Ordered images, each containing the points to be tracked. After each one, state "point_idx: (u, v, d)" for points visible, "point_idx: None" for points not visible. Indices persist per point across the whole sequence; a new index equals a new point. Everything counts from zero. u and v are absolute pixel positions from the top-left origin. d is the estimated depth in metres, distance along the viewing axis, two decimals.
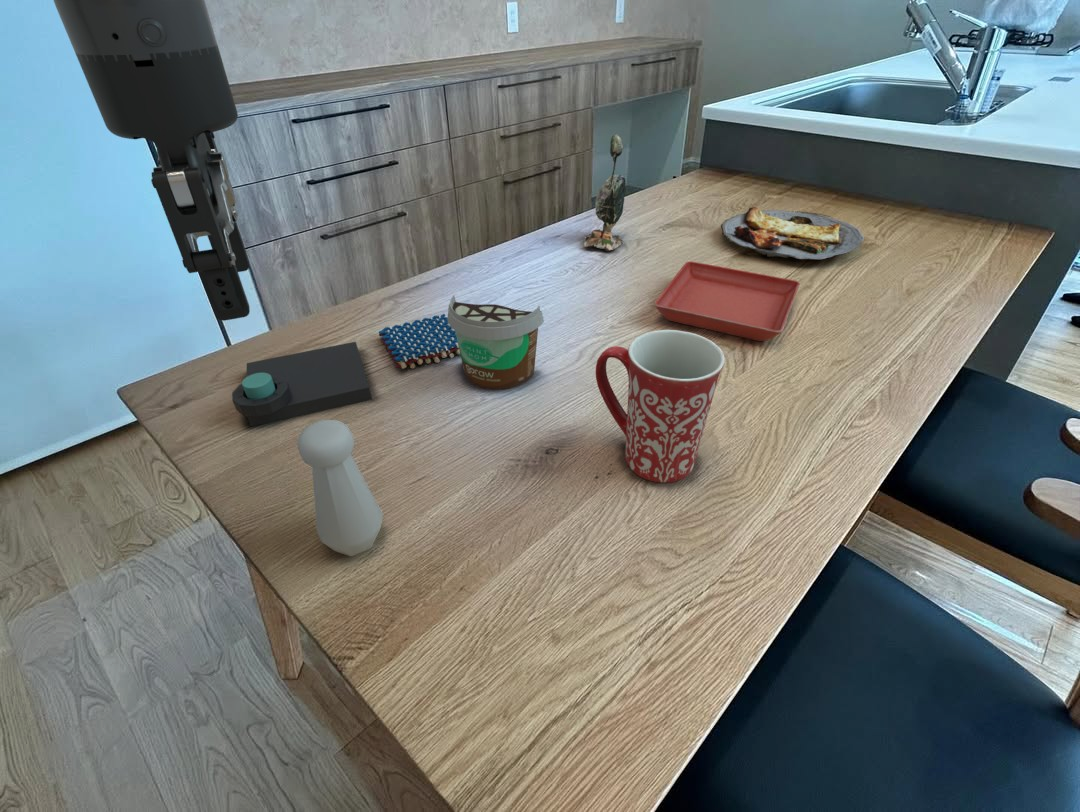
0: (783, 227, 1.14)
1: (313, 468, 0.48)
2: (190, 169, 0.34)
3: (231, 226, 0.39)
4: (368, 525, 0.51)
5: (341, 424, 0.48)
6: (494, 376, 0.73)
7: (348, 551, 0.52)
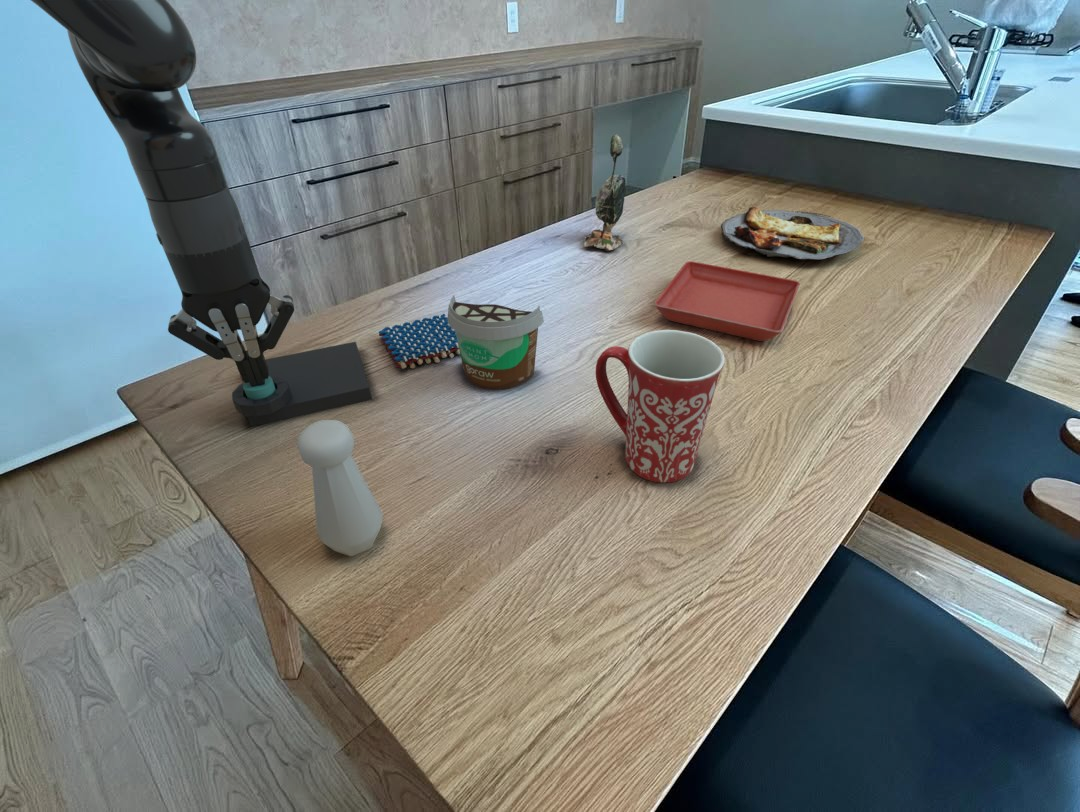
0: (783, 227, 1.14)
1: (313, 468, 0.48)
2: (168, 326, 0.60)
3: (230, 343, 0.63)
4: (368, 525, 0.51)
5: (341, 424, 0.48)
6: (494, 376, 0.73)
7: (348, 551, 0.52)
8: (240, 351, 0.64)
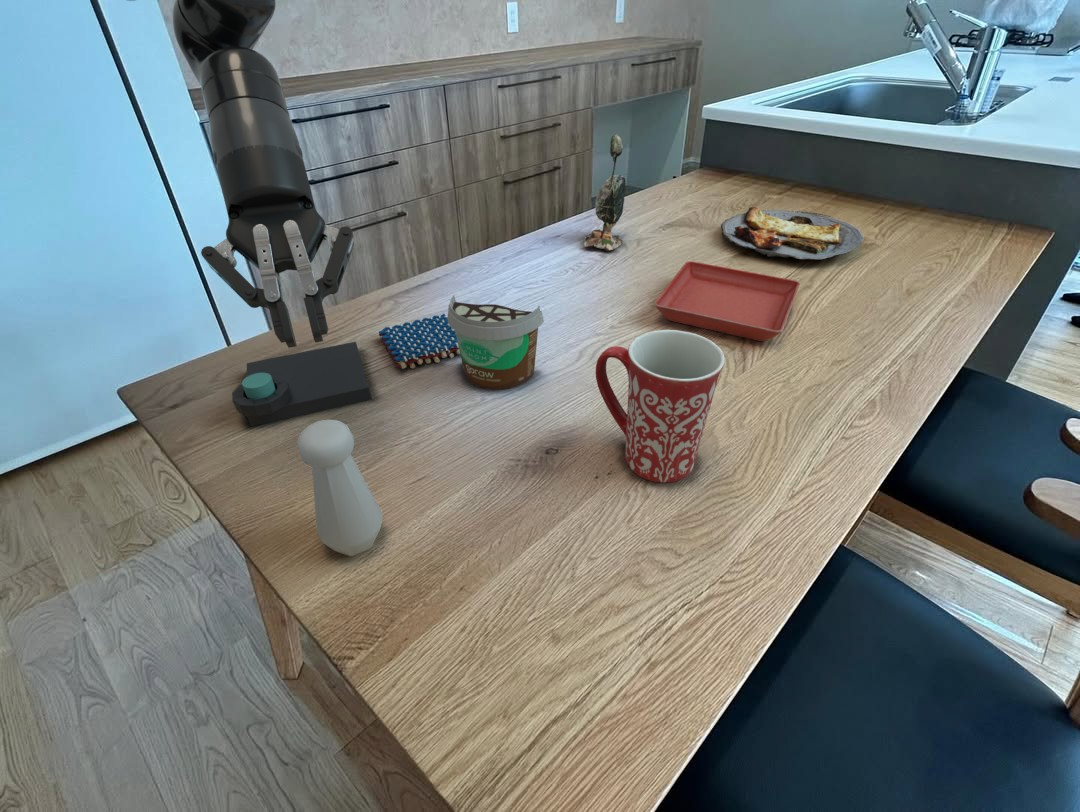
0: (783, 227, 1.14)
1: (313, 468, 0.48)
2: None
3: (268, 272, 0.51)
4: (368, 525, 0.51)
5: (341, 424, 0.48)
6: (494, 376, 0.73)
7: (348, 551, 0.52)
8: (275, 288, 0.52)
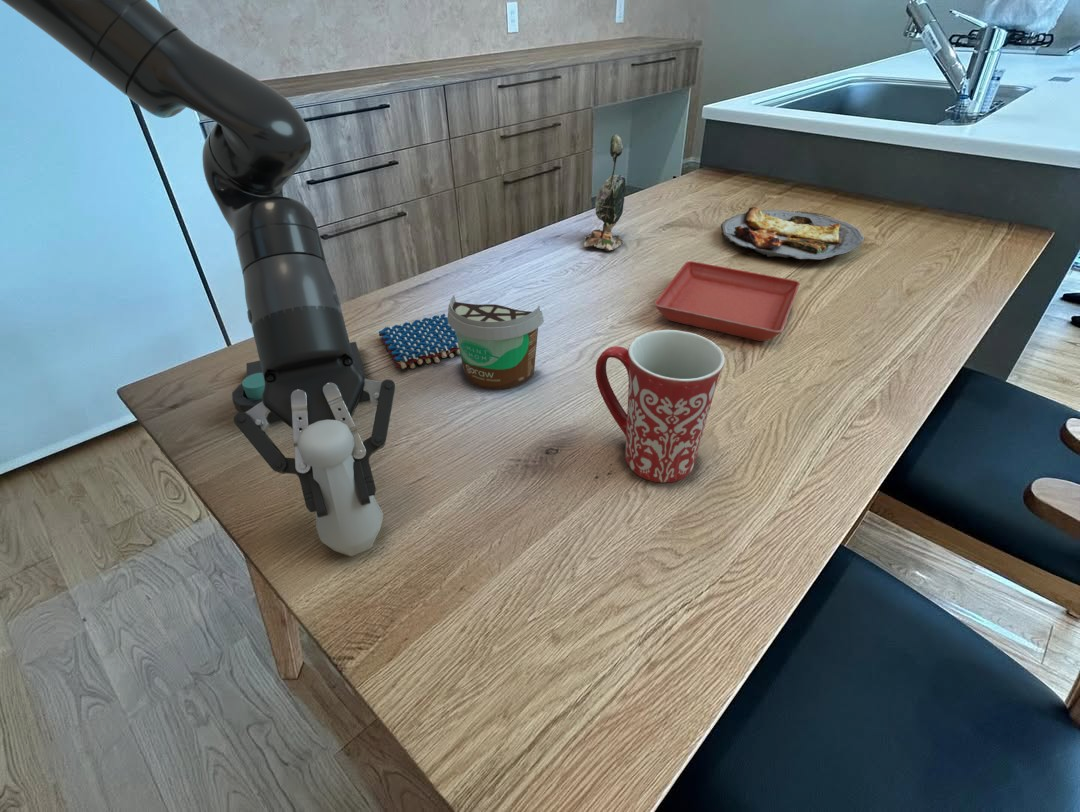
0: (783, 227, 1.14)
1: (313, 468, 0.48)
2: None
3: None
4: (368, 525, 0.51)
5: (341, 424, 0.48)
6: (494, 376, 0.73)
7: (348, 551, 0.52)
8: None
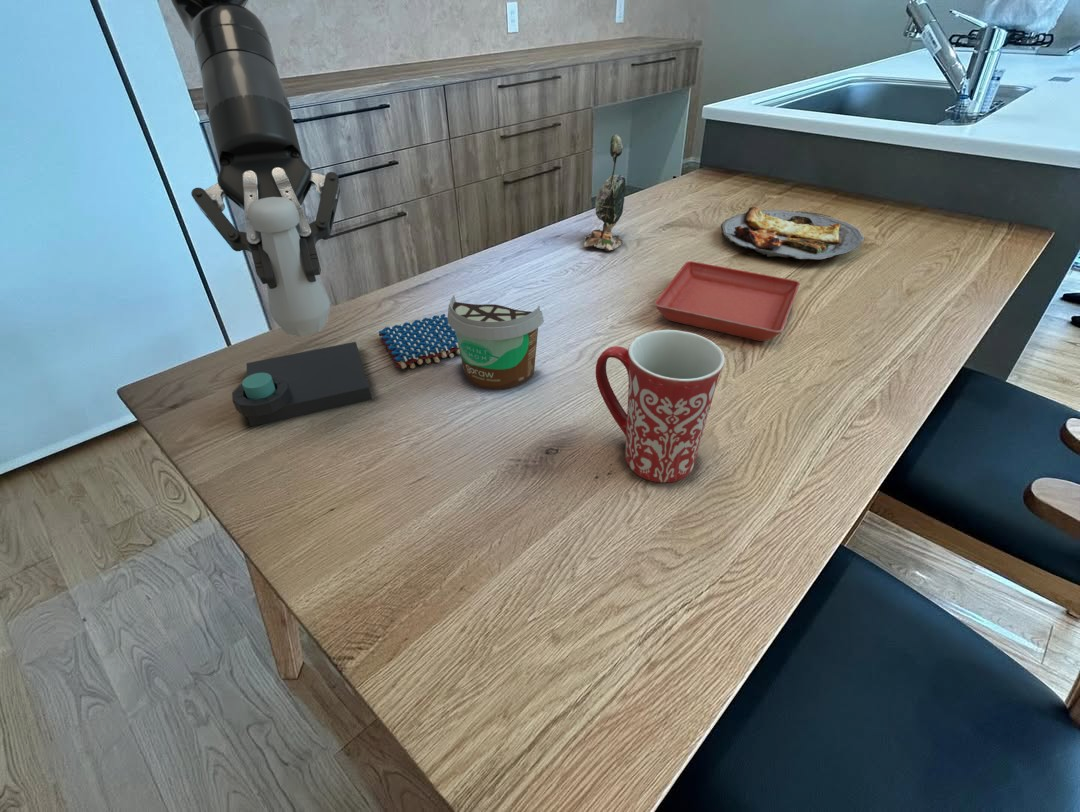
0: (783, 227, 1.14)
1: (262, 238, 0.54)
2: None
3: None
4: (315, 302, 0.58)
5: (287, 199, 0.54)
6: (494, 376, 0.73)
7: (297, 328, 0.58)
8: (257, 231, 0.55)
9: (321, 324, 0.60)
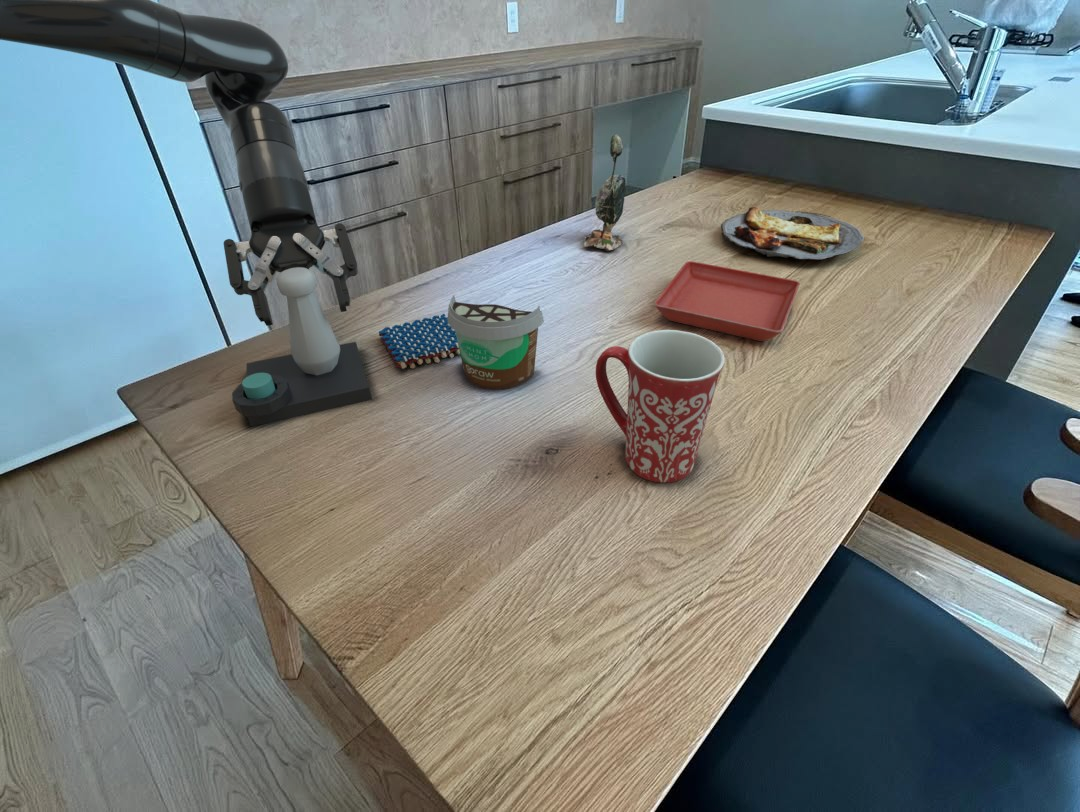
0: (783, 227, 1.14)
1: (288, 300, 0.69)
2: None
3: (261, 269, 0.68)
4: (328, 348, 0.72)
5: (307, 269, 0.69)
6: (494, 376, 0.73)
7: (314, 368, 0.73)
8: (256, 280, 0.68)
9: (333, 365, 0.74)
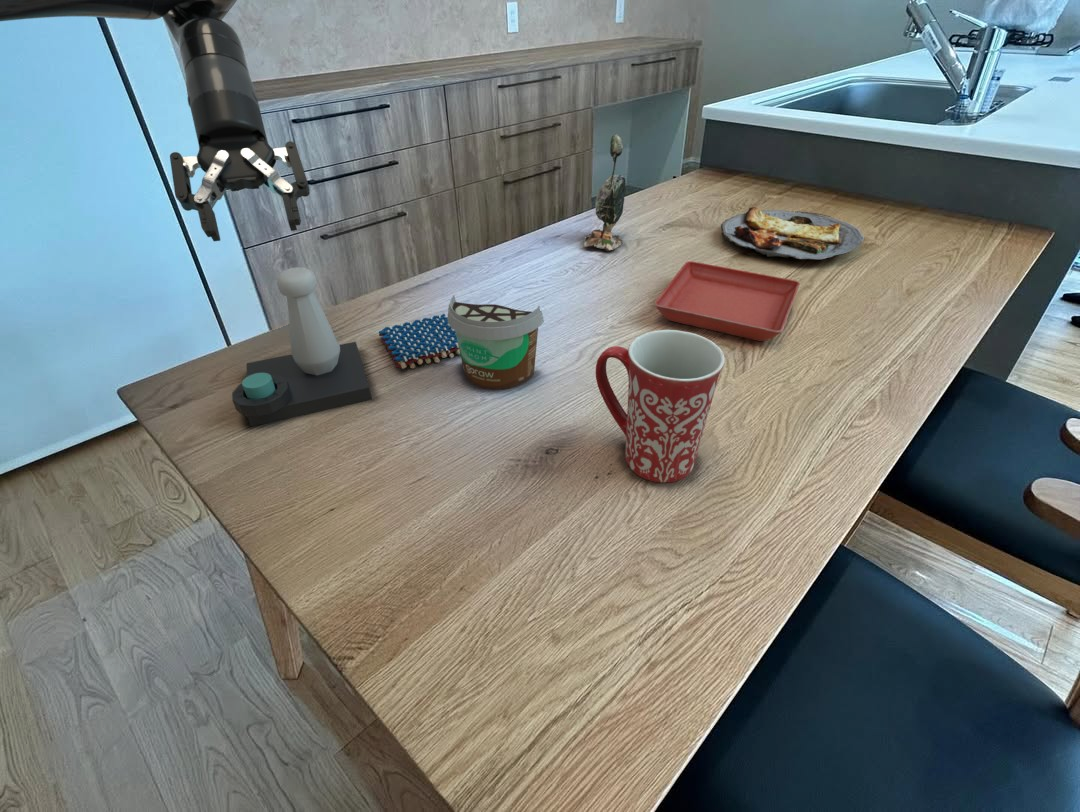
0: (783, 227, 1.14)
1: (288, 300, 0.69)
2: None
3: (207, 182, 0.67)
4: (328, 348, 0.72)
5: (307, 269, 0.69)
6: (494, 376, 0.73)
7: (314, 368, 0.73)
8: (202, 193, 0.67)
9: (333, 365, 0.74)
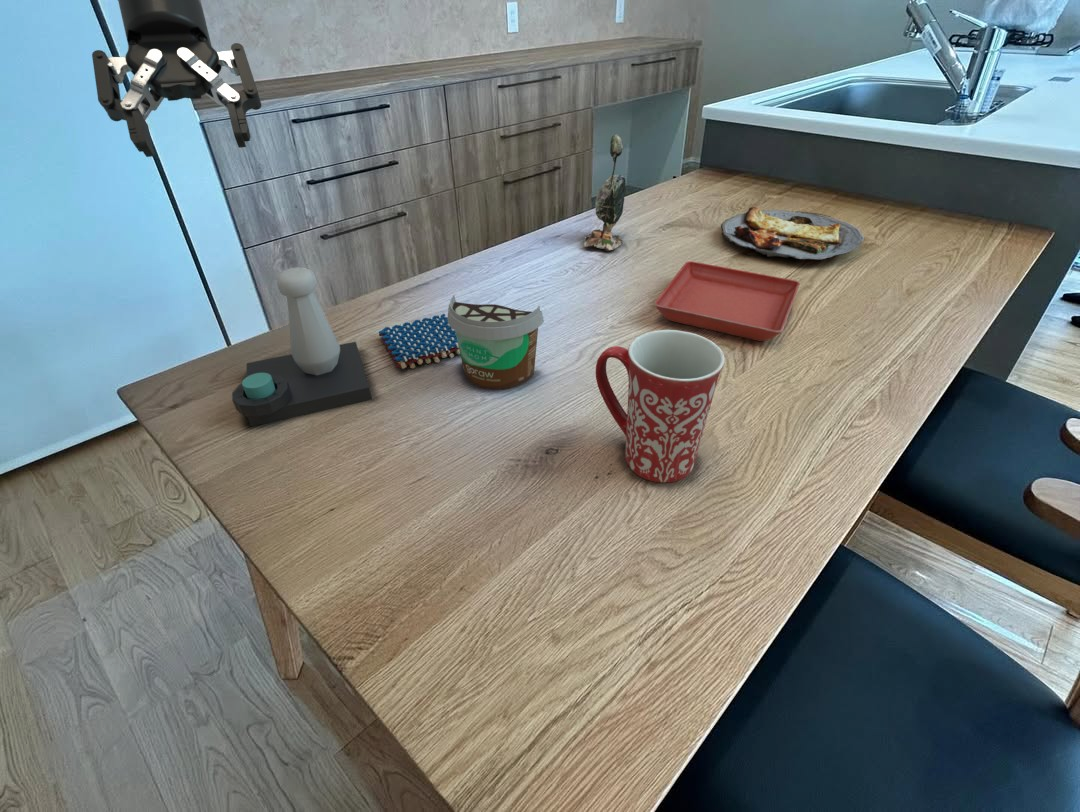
0: (783, 227, 1.14)
1: (288, 300, 0.69)
2: None
3: (137, 85, 0.57)
4: (328, 348, 0.72)
5: (307, 269, 0.69)
6: (494, 376, 0.73)
7: (314, 368, 0.73)
8: (131, 99, 0.57)
9: (333, 365, 0.74)
